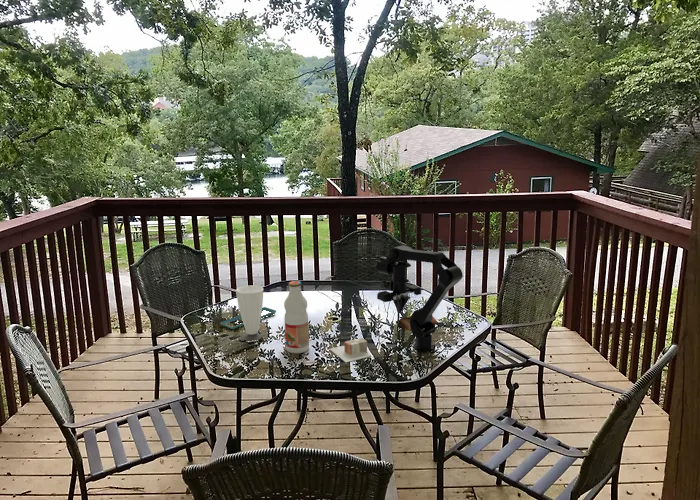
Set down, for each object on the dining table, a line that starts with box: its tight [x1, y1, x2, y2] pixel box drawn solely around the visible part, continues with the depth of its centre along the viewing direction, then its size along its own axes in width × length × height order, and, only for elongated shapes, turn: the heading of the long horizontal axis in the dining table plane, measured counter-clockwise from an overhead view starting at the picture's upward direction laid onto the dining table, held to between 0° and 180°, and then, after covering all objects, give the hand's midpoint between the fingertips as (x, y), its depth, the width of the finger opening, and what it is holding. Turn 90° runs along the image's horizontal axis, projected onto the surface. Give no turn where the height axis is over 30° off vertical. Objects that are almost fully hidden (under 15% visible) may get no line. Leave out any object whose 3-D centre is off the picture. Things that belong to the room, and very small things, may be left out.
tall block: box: [343, 337, 368, 355], centre depth 206 cm, size 4×4×8 cm
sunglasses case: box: [397, 315, 440, 332], centre depth 235 cm, size 18×7×7 cm, turn 121°
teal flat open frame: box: [220, 306, 277, 330], centre depth 243 cm, size 26×9×2 cm, turn 139°
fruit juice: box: [283, 280, 310, 354], centre depth 207 cm, size 9×9×28 cm
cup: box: [235, 284, 264, 342], centre depth 220 cm, size 12×12×22 cm
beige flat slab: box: [329, 345, 372, 364], centre depth 206 cm, size 14×11×1 cm
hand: (399, 313), depth 215 cm, fingers closed
